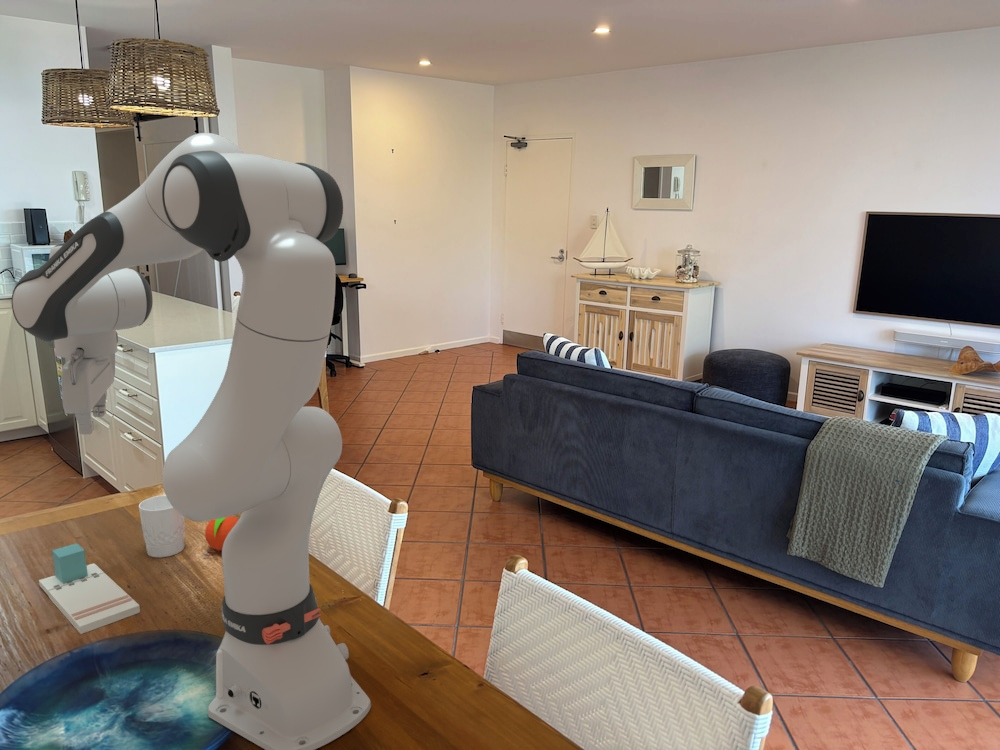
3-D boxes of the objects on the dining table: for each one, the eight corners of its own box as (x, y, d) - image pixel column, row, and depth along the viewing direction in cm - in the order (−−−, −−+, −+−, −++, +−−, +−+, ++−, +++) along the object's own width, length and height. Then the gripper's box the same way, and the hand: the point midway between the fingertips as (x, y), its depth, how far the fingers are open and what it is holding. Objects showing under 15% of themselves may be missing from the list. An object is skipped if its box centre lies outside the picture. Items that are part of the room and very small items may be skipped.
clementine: (234, 559, 140) (232, 525, 139) (198, 559, 140) (195, 524, 139) (248, 541, 148) (246, 508, 146) (214, 540, 148) (211, 507, 146)
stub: (104, 577, 132) (100, 546, 131) (48, 595, 126) (43, 563, 125) (94, 568, 136) (91, 537, 134) (39, 585, 129) (35, 553, 128)
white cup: (195, 542, 147) (191, 495, 145) (174, 560, 140) (169, 511, 137) (157, 540, 148) (153, 493, 146) (135, 558, 140) (129, 509, 138)
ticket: (140, 612, 122) (139, 604, 121) (80, 634, 115) (79, 626, 115) (105, 579, 132) (104, 572, 132) (49, 597, 126) (48, 590, 125)
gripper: (93, 356, 110) (101, 443, 114) (119, 330, 129) (125, 406, 132) (45, 357, 108) (55, 445, 112) (79, 331, 127) (86, 407, 131)
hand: (93, 424), depth 122 cm, fingers open, 8 cm apart
